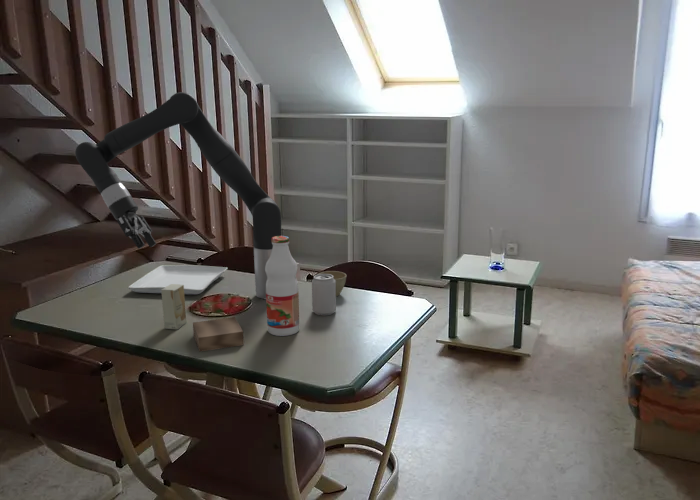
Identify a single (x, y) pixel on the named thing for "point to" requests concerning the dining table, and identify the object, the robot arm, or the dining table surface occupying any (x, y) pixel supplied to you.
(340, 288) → the beige bowl
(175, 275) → the square plate
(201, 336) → the walnut stand
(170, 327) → the skincare box
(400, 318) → the dining table surface
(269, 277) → the fruit juice
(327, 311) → the can
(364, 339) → the dining table surface
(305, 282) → the dining table surface
